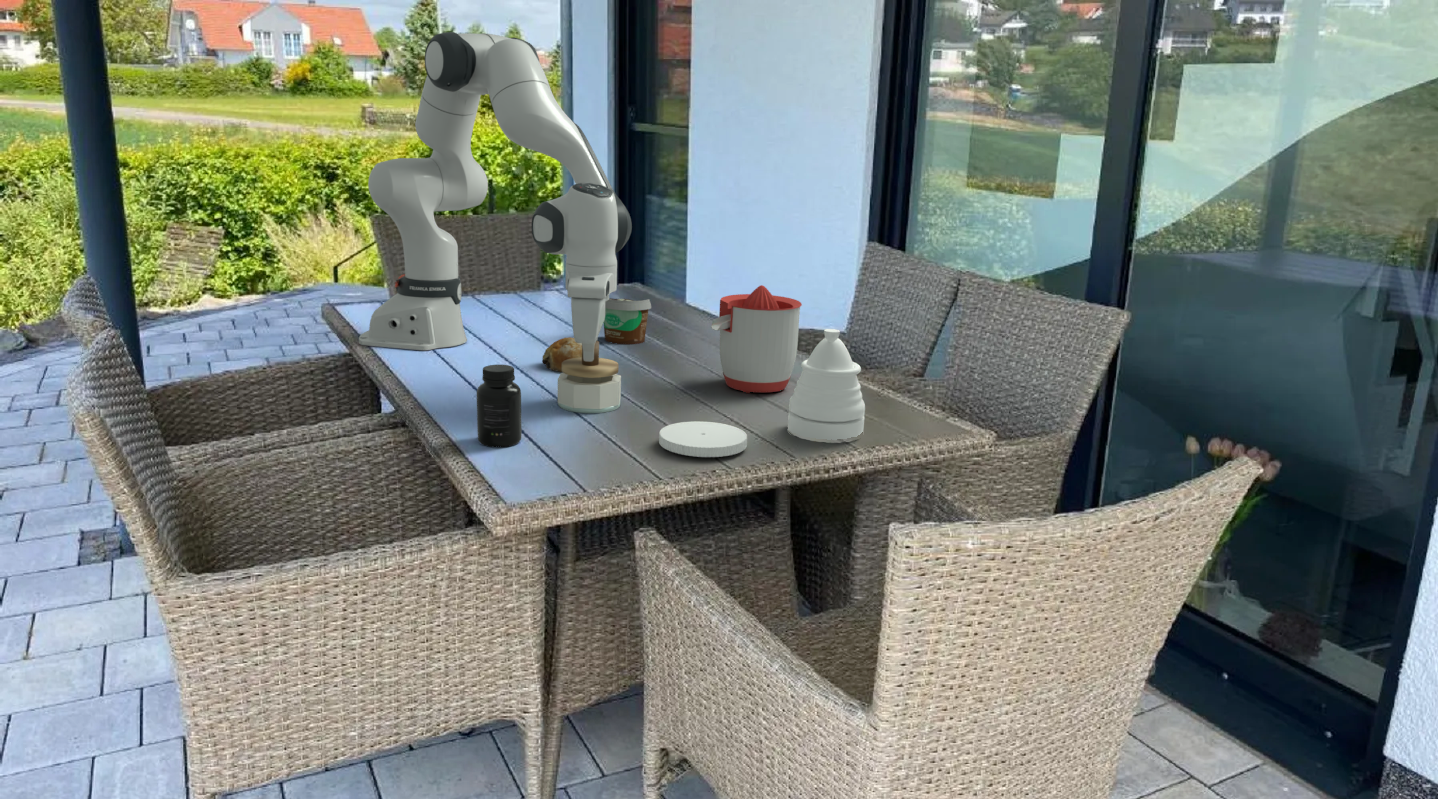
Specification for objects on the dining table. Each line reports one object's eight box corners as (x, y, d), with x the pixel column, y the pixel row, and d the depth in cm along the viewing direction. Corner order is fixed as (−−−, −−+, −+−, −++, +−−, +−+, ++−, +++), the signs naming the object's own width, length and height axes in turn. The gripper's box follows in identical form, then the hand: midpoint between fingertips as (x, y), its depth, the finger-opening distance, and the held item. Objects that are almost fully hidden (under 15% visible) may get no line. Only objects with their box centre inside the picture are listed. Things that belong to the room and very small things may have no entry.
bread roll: (575, 392, 214) (592, 358, 212) (531, 366, 215) (548, 332, 212) (591, 380, 223) (607, 347, 221) (548, 355, 224) (564, 323, 221)
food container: (588, 341, 242) (589, 297, 239) (601, 336, 248) (602, 293, 245) (638, 348, 238) (639, 303, 235) (650, 343, 243) (651, 299, 241)
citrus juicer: (696, 379, 214) (700, 279, 208) (775, 375, 220) (781, 277, 215) (725, 400, 200) (731, 293, 194) (809, 395, 206) (817, 291, 201)
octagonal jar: (554, 412, 187) (554, 384, 186) (562, 395, 198) (562, 368, 196) (618, 414, 187) (618, 386, 186) (622, 397, 198) (622, 371, 197)
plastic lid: (764, 455, 171) (765, 440, 170) (690, 468, 163) (691, 452, 162) (713, 431, 182) (714, 417, 181) (642, 443, 174) (642, 428, 173)
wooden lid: (618, 378, 187) (619, 348, 185) (560, 376, 186) (560, 347, 184) (618, 364, 196) (618, 336, 195) (562, 363, 195) (563, 334, 194)
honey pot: (861, 446, 176) (870, 339, 171) (783, 439, 178) (790, 332, 173) (864, 425, 188) (873, 324, 184) (791, 418, 190) (798, 318, 186)
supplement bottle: (480, 434, 173) (479, 361, 170) (523, 435, 174) (523, 363, 170) (474, 447, 166) (473, 372, 163) (519, 448, 167) (519, 373, 164)
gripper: (579, 269, 196) (578, 344, 200) (566, 288, 177) (565, 370, 180) (613, 271, 197) (612, 345, 200) (604, 290, 177) (603, 372, 181)
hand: (589, 357), depth 190 cm, fingers closed on wooden lid, 3 cm apart
